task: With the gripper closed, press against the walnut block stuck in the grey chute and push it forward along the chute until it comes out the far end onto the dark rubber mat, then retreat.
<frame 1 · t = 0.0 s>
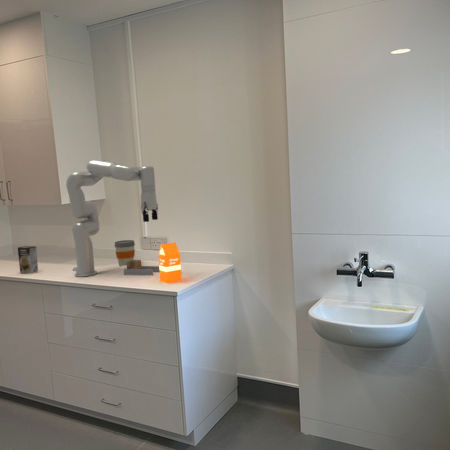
hand: (150, 220, 256), 31 cm above the countertop, tool pointing down, fingers open, 9 cm apart
reusable coffee cup: (126, 265, 298), on the countertop
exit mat: (163, 275, 262), on the countertop
orange juice: (170, 281, 247), on the countertop
coffee box: (29, 272, 290), on the countertop
chute: (142, 274, 266), on the countertop
block: (134, 266, 267), point 4 cm above the countertop, slide at 0.0 cm
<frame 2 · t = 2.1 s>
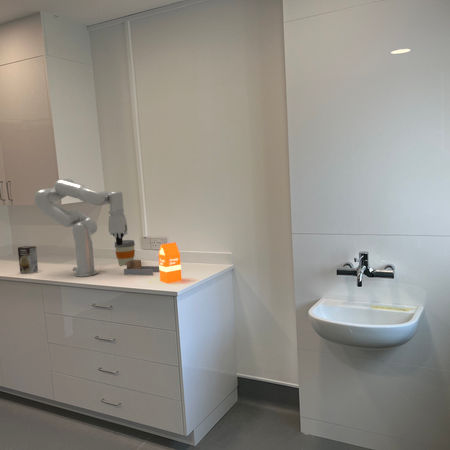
hand: (119, 244, 269), 17 cm above the countertop, tool pointing down, fingers closed
nothing on the countertop moved.
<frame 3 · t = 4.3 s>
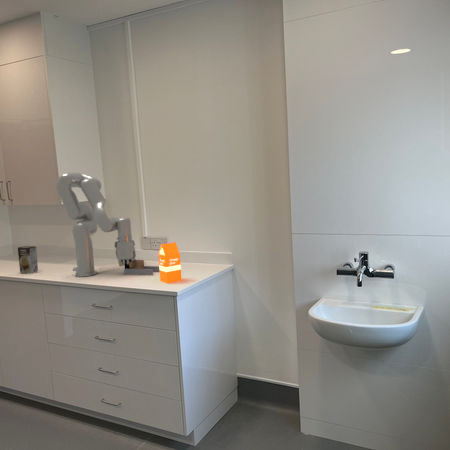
hand: (127, 270, 269), 2 cm above the countertop, tool pointing down, fingers closed
block: (136, 267, 267), point 4 cm above the countertop, slide at 1.8 cm
everything else where it was.
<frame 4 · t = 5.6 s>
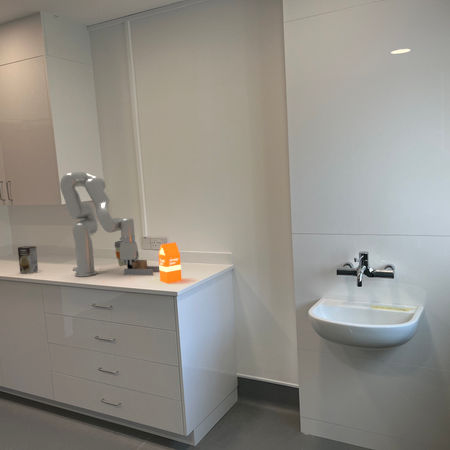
hand: (130, 271, 269), 2 cm above the countertop, tool pointing down, fingers closed
block: (139, 267, 266), point 4 cm above the countertop, slide at 3.8 cm, touching gripper
everything else where it was.
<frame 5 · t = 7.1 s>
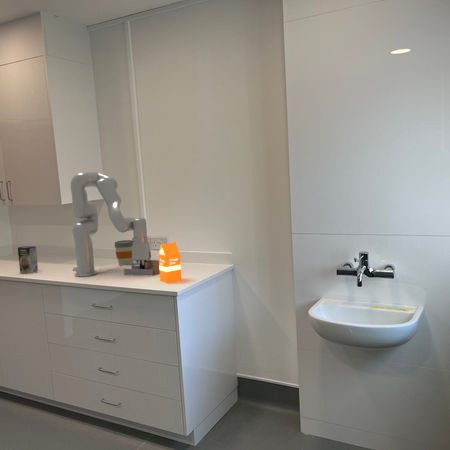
hand: (142, 271, 266), 2 cm above the countertop, tool pointing down, fingers closed
block: (152, 267, 263), point 4 cm above the countertop, slide at 11.8 cm, touching gripper
everything else where it was.
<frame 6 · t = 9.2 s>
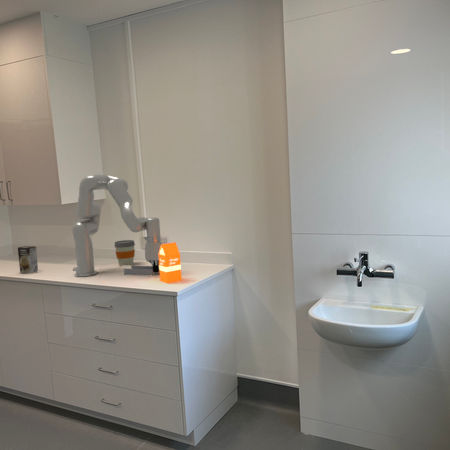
hand: (156, 271, 263), 2 cm above the countertop, tool pointing down, fingers closed
block: (165, 267, 261), point 4 cm above the countertop, slide at 20.2 cm, touching gripper
everything else where it was.
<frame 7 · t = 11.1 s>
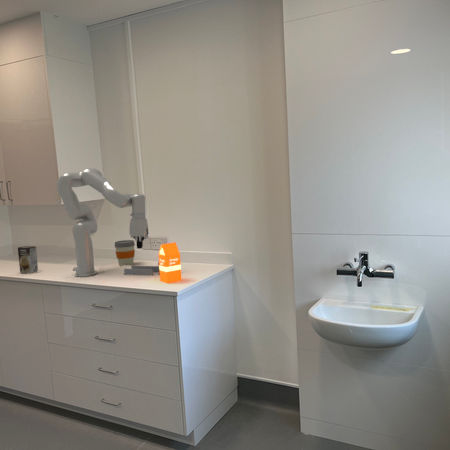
hand: (139, 248, 266), 15 cm above the countertop, tool pointing down, fingers closed
block: (165, 267, 261), point 4 cm above the countertop, slide at 20.2 cm
everything else where it was.
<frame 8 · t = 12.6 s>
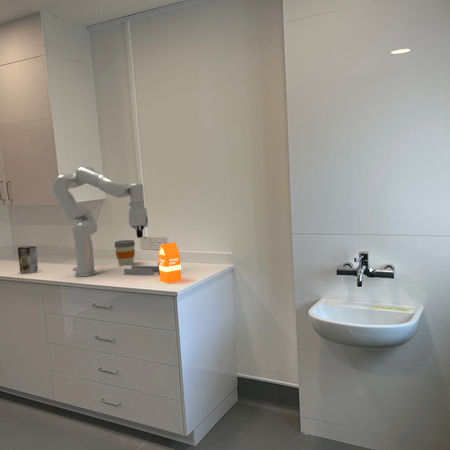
hand: (139, 237, 266), 21 cm above the countertop, tool pointing down, fingers closed
nothing on the countertop moved.
at the end: block slide at 20.2 cm; block inside the target area (1.2 cm from its centre), point 4.3 cm above the countertop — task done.
